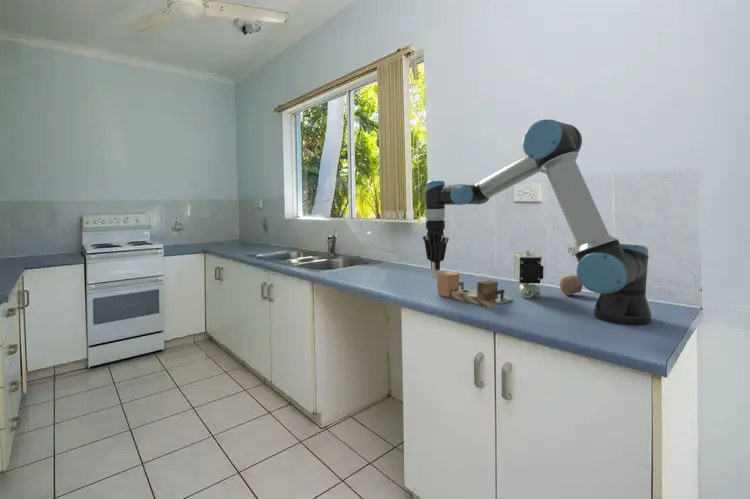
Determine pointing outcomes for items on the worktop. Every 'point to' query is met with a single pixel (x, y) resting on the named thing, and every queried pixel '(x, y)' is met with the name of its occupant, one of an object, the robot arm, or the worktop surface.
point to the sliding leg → (448, 283)
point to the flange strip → (498, 300)
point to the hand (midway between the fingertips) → (435, 277)
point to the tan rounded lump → (570, 285)
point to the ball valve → (528, 273)
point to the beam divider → (480, 294)
